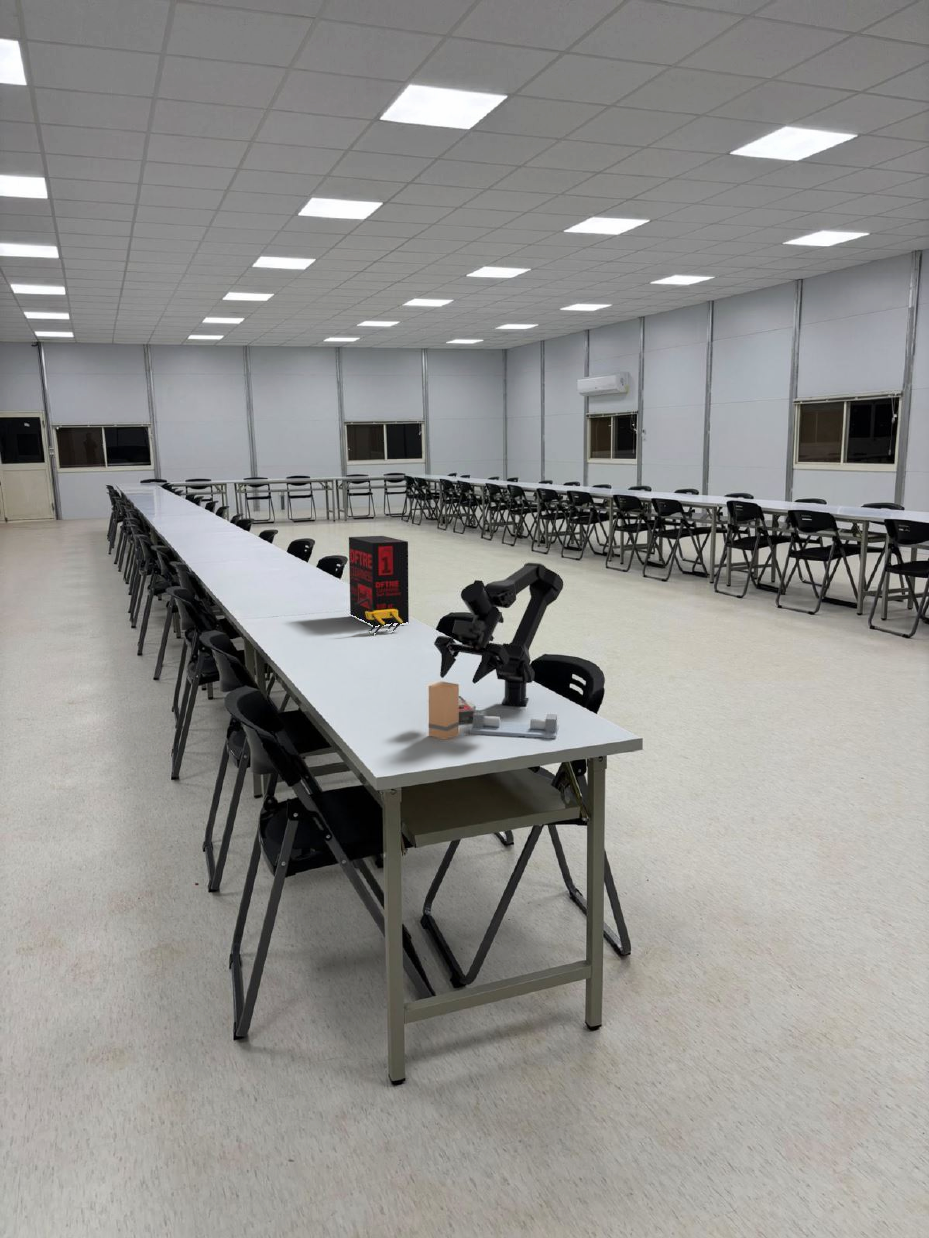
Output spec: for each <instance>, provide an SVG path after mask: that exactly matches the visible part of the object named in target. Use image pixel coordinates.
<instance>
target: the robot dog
mask: <svg viewBox="0 0 929 1238" xmlns="http://www.w3.org/2000/svg"><path fill="white" fill-rule="evenodd" d="M366 601H367V602H368V605H369V607H370V609H369V611H366V612H365V614H366V618H367V619H369V620H371V619H373V620H374V621H375V622H376V624H375V625H374V626H373V627H371V628H370V629H369V631H371V632H372V631H373V630H374V629H376V630H374V632H373V633H376V634H377V633H378V632H379V630H380V629H381V628H383V627H382V626H384V624H385V623H384V621H382V620H381V619H382V618H392V619H393V620H394V621H393V623H392V624H391V625H390V626H389V627H387V629H389V630H391V628H392V627H394V628H393V629H392V630H393V631H394V630H395V631H396V629H398V627H400V626H399V625H400V624H402V622H403V621H402V620H401V619H400V618H399V617H398V610H396V609H387V610H376V611H374V608H373V607H372V605H371V602H370V600H369V598H365V599H364V600H362V601H360V602H358V603H355V604H354V606H357V605H360V604H362V603H364V602H366ZM397 621H398V622H399V623H398V624H397V625H396V626H393V624H394V623H395V622H397ZM379 623H380V624H381V625H380V626H379V627H378V628H375V626H376V625H377V624H379ZM395 631H394V632H395Z"/></svg>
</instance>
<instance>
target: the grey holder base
mask: <svg viewBox="0 0 929 1238" xmlns="http://www.w3.org/2000/svg"><path fill="white" fill-rule="evenodd" d="M486 713H487V711H486V710H480V709H476V711H475V712H474V714H473V722H472V727H471V728H470V733H469V734H470V735H471V734H473V735H488V736H489V735H491V736H504V737H505V736H506V737H518V736H525V737H524V738H534V737H544V738H543V739H546V738H545V737H549V738H548V739H550V738H556V739H557V736H556V735H558V731H559V725H558V714H553V713H552V714H551V713H547V714H546V717H545V719H543V718H542V719H541V718H530V722H528V723H527V722H526V723H525V722H524V723H523V722H510V721H507V722H506V721H501V717H500V716H493V715H491V716H488V715H487V714H486Z"/></svg>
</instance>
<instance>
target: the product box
mask: <svg viewBox="0 0 929 1238" xmlns="http://www.w3.org/2000/svg"><path fill="white" fill-rule="evenodd" d="M348 560H349V561H348V563H349V564H348V566H349V568H348V569H349V571H348V572H349V573H348V574H349V614H351V615H353V616H356V617H357V618H359V619H362V620H364V621H365V622H367V623H370V624H371V625H373V626H374V625H375V624H376V622H375V621H374V620H373V619H371V620H369V619H367V618H366V614H365V612H366V611H369V609H370V607H369V605H368V602H367V601H366V602H364V603H362V604H360V605H357V606H354V604H355V603H358V602H360V601H362V600H364V599H365V598H369V600H370V602H371V605H372V607H373V608H374V611H376V610H387V609H396V610H398V617H399V618H400V619H401V620H402V621H403V622H402V623H406V622H408V623H409V621H410V620H409V619H410V618H409V617H410V615H409V613H410V612H409V541H407V540H403V539H399V538H398V539H397V538H395V537H389V536H386V535H369V536H366V535H365V536H364V535H363V536H349V537H348ZM381 620H382V621H384V623H385V624H384V625H386V624H391V623H393V621H394V620H393V619H392V618H382V619H381ZM395 623H399V622H398V621H397V622H395ZM378 625H381V624H380V623H379V624H377V625H376V626H378Z"/></svg>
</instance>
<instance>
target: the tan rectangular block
mask: <svg viewBox="0 0 929 1238" xmlns="http://www.w3.org/2000/svg"><path fill="white" fill-rule="evenodd" d="M459 693H460V687H459V684H457V683H453V682H446V681H438V682H435V683H433V684H430V685H428V736H429V737H434V738H438V739H443V740H449V739H450V738H452V737H455V736H457V735H459V731H460V730H459V726H460V723H459V696H460V695H459Z"/></svg>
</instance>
